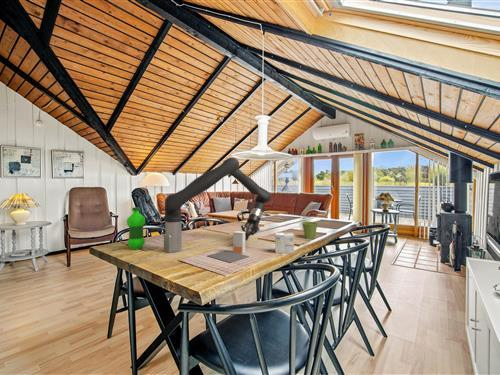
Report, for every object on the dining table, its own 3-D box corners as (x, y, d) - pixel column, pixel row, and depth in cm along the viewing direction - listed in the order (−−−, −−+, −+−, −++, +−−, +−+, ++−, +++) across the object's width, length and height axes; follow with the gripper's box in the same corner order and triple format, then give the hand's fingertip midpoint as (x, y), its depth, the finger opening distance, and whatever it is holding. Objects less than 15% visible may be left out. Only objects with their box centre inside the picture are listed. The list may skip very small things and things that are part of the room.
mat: (230, 263, 125) (230, 262, 125) (207, 256, 137) (207, 255, 137) (249, 256, 136) (249, 256, 136) (225, 251, 148) (225, 250, 148)
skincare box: (232, 253, 144) (232, 232, 144) (236, 251, 148) (235, 230, 148) (242, 254, 142) (242, 232, 142) (245, 252, 146) (245, 231, 146)
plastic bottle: (146, 248, 154) (146, 207, 154) (127, 251, 148) (127, 208, 148) (144, 245, 162) (143, 206, 162) (125, 247, 157) (125, 207, 156)
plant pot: (299, 236, 189) (299, 221, 189) (314, 236, 190) (314, 221, 190) (304, 240, 177) (304, 224, 177) (320, 239, 179) (320, 223, 178)
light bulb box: (293, 250, 149) (293, 232, 149) (294, 253, 142) (294, 234, 142) (275, 250, 150) (275, 232, 150) (275, 253, 143) (275, 234, 143)
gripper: (244, 212, 161) (233, 235, 151) (262, 213, 155) (252, 237, 144) (248, 219, 166) (238, 242, 156) (266, 221, 159) (256, 244, 149)
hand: (244, 239), depth 150 cm, fingers closed
